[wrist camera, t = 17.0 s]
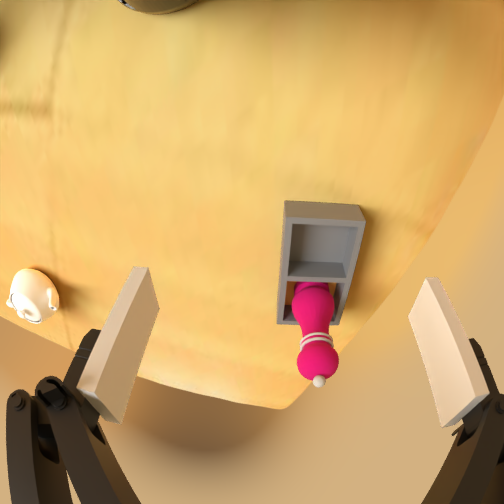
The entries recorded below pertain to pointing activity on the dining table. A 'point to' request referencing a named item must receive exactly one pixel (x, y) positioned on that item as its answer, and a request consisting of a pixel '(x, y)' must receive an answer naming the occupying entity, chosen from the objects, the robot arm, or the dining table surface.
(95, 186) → the dining table surface
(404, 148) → the dining table surface
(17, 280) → the teapot
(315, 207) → the rack
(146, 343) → the robot arm
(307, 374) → the pepper mill
